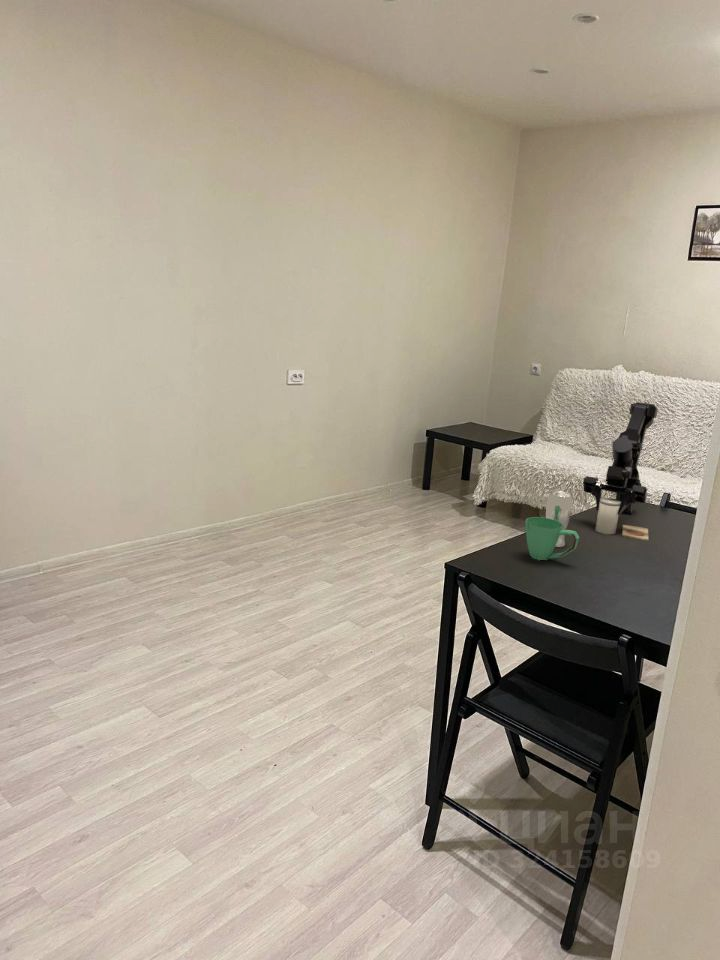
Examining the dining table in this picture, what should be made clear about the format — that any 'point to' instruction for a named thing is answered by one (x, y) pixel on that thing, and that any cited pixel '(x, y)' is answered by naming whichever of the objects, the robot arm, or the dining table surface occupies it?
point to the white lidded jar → (607, 516)
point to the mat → (635, 532)
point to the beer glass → (559, 510)
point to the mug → (546, 537)
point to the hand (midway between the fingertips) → (607, 512)
